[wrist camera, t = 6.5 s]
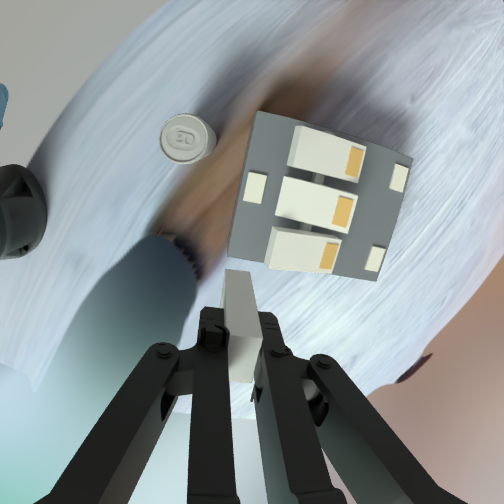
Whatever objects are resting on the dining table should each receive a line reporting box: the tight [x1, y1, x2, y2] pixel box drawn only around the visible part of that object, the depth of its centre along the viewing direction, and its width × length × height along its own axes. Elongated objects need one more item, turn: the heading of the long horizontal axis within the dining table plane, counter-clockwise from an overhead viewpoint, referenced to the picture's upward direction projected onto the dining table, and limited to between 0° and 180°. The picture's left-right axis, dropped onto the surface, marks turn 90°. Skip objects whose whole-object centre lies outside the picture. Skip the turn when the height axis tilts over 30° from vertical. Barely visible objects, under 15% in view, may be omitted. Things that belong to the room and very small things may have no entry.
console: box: [227, 111, 413, 282], centre depth 36 cm, size 20×17×7 cm
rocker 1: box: [287, 126, 366, 183], centre depth 29 cm, size 8×4×2 cm, turn 76°
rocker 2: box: [275, 175, 358, 234], centre depth 31 cm, size 8×4×2 cm, turn 79°
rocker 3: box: [264, 226, 342, 274], centre depth 33 cm, size 8×4×2 cm, turn 76°
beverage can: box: [159, 113, 217, 164], centre depth 30 cm, size 5×5×12 cm
